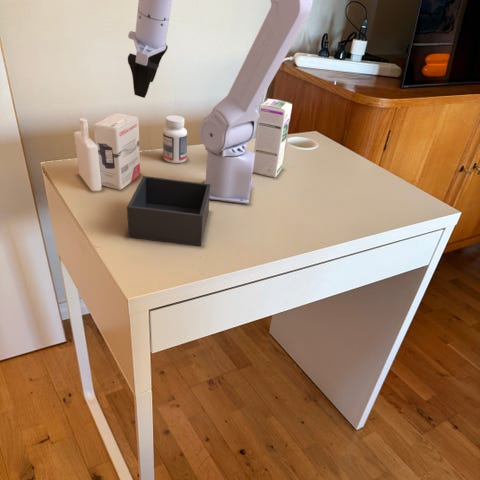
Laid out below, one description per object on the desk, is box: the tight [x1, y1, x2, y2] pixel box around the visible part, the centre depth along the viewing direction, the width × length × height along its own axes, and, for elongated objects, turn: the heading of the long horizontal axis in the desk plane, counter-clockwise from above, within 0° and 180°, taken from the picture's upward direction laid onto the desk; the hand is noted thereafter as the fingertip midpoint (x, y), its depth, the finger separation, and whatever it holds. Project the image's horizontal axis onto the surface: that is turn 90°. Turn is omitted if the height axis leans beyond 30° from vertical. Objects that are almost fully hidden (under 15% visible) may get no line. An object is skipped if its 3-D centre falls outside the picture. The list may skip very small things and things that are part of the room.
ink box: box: [93, 112, 141, 191], centre depth 88 cm, size 8×5×12 cm, turn 162°
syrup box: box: [253, 98, 293, 178], centre depth 99 cm, size 6×6×14 cm
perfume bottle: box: [73, 117, 102, 192], centre depth 86 cm, size 8×2×12 cm, turn 32°
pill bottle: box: [162, 114, 188, 164], centre depth 100 cm, size 5×5×9 cm
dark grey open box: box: [126, 175, 211, 247], centre depth 79 cm, size 12×12×6 cm
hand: (143, 87), depth 93 cm, fingers open, 7 cm apart
